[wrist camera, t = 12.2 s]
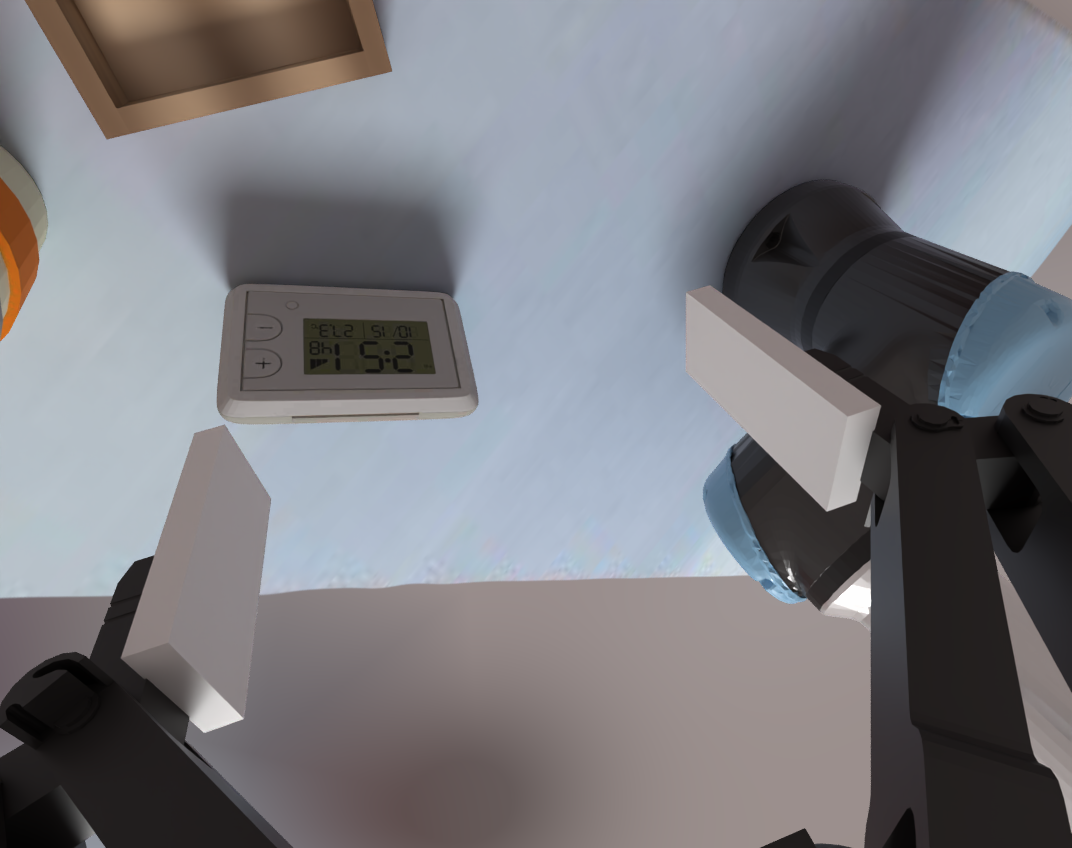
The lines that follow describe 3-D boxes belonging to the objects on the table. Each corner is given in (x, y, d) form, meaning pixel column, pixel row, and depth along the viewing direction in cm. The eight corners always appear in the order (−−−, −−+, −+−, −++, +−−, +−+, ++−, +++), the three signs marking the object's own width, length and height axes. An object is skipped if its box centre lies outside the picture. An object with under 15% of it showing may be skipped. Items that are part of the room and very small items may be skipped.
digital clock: (465, 293, 45) (500, 358, 37) (434, 390, 49) (459, 467, 41) (234, 235, 38) (213, 300, 30) (220, 355, 42) (198, 440, 34)
